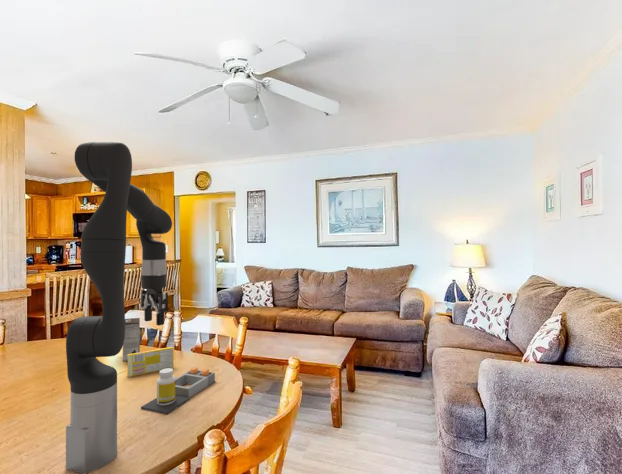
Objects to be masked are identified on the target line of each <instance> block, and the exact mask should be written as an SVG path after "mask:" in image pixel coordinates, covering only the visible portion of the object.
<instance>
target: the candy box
mask: <svg viewBox="0 0 622 474" xmlns="http://www.w3.org/2000/svg"><path fill="white" fill-rule="evenodd" d="M127 358H128V361H127V378H131V377H135V376H140V375H146V374H149V373H157V372H160V370H162V369H166V368H172V369H174V347H173V346H169V347H164V348H158V349H151V350H145V351H140V352H139V353H133V354H127Z"/></svg>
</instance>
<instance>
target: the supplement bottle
mask: <svg viewBox="0 0 622 474" xmlns="http://www.w3.org/2000/svg"><path fill="white" fill-rule="evenodd" d="M158 372H159V377H158V378H157V380H156V398H157V404H158V405H162V406H164V405H169V404H171V403H173V402H174V401H175V399H176V378H177V377H176V376H175V375H174V368H166V369H162V370H160V371H158Z"/></svg>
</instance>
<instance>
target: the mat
mask: <svg viewBox="0 0 622 474" xmlns="http://www.w3.org/2000/svg"><path fill="white" fill-rule="evenodd" d="M190 400H191V397H185V396H179V395H176V399H175V401H174V402H173V403H171V404H169V405H164V406H162V405H158V404H157V397H156V398H154V399H152V400H150V401H148V402H147V403H145V404H143V405H142V406H140V409H141V410H145V411H148V412H152V413H159V414H163V415H169V414H170V413H171V412H174V411H175V410H177V409H178V408H180V407H181V406H183V405H184V404H186V403H187V402H189V401H190Z"/></svg>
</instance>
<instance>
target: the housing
mask: <svg viewBox="0 0 622 474" xmlns="http://www.w3.org/2000/svg"><path fill="white" fill-rule="evenodd" d="M175 378H176V395H179V396H185V397H190V398H192V397H193V396H194V395H196V394H197V393H199V392H201V391H202V390H204V389H205V388H206V387H209V386H210V385H211V384H213V383H214V382H216V381H215V379H216V373H215V372H210V371H209V375H208V376H202V370H199V369H198V373H197V374H190V370H189V371H187V372H185V373H183V374H181V375H179V376H177V377H175ZM185 384H186V385H187V384H188V385H190V386H183V385H185Z"/></svg>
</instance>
